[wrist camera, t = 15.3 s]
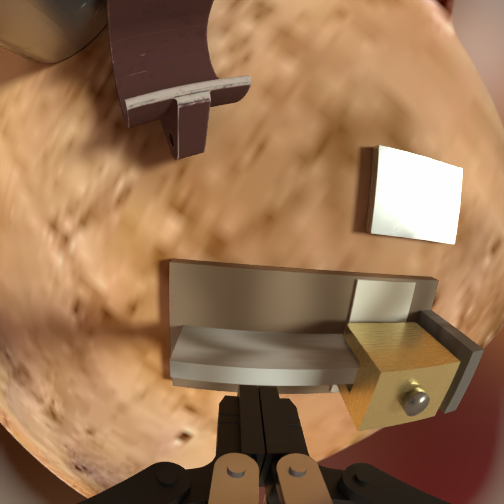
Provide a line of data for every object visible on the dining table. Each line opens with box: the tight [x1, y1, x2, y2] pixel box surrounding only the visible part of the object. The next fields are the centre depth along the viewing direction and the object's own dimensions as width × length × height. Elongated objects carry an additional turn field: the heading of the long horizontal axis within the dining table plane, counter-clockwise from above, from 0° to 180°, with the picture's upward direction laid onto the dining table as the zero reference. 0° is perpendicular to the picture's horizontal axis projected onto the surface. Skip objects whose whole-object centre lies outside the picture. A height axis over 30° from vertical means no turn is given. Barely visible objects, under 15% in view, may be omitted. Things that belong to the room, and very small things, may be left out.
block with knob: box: [337, 322, 461, 431], centre depth 16 cm, size 6×4×7 cm
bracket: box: [107, 0, 252, 160], centre depth 12 cm, size 6×17×10 cm, turn 22°
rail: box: [169, 259, 484, 413], centre depth 17 cm, size 20×10×8 cm, turn 85°
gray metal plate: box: [365, 145, 462, 244], centre depth 18 cm, size 8×6×1 cm
